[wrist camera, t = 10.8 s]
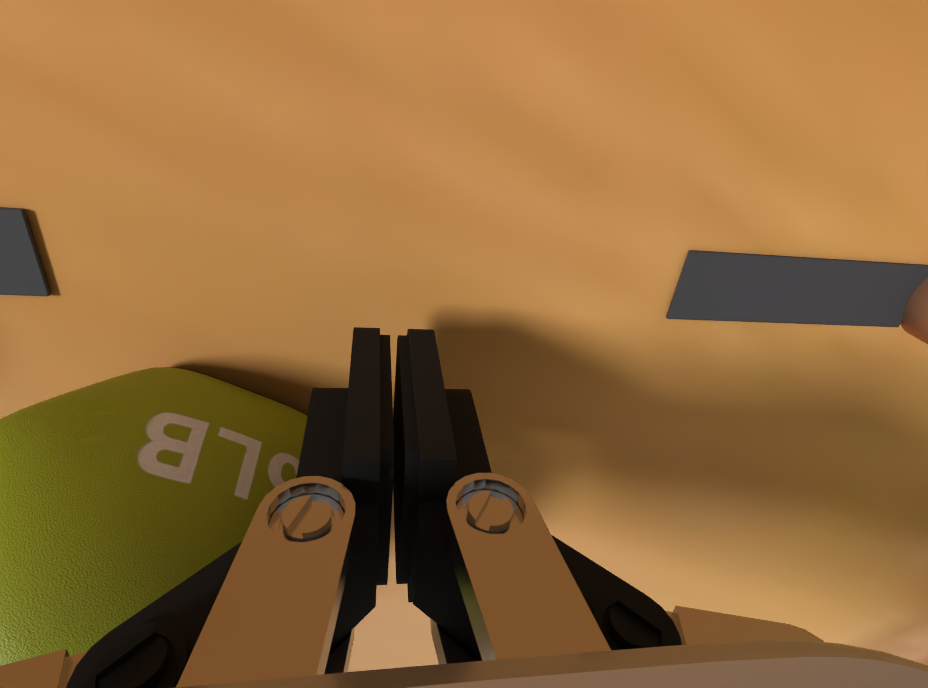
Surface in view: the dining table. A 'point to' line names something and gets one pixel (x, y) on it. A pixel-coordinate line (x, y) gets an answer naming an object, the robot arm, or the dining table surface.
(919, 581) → the dining table surface
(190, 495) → the dumbbell
